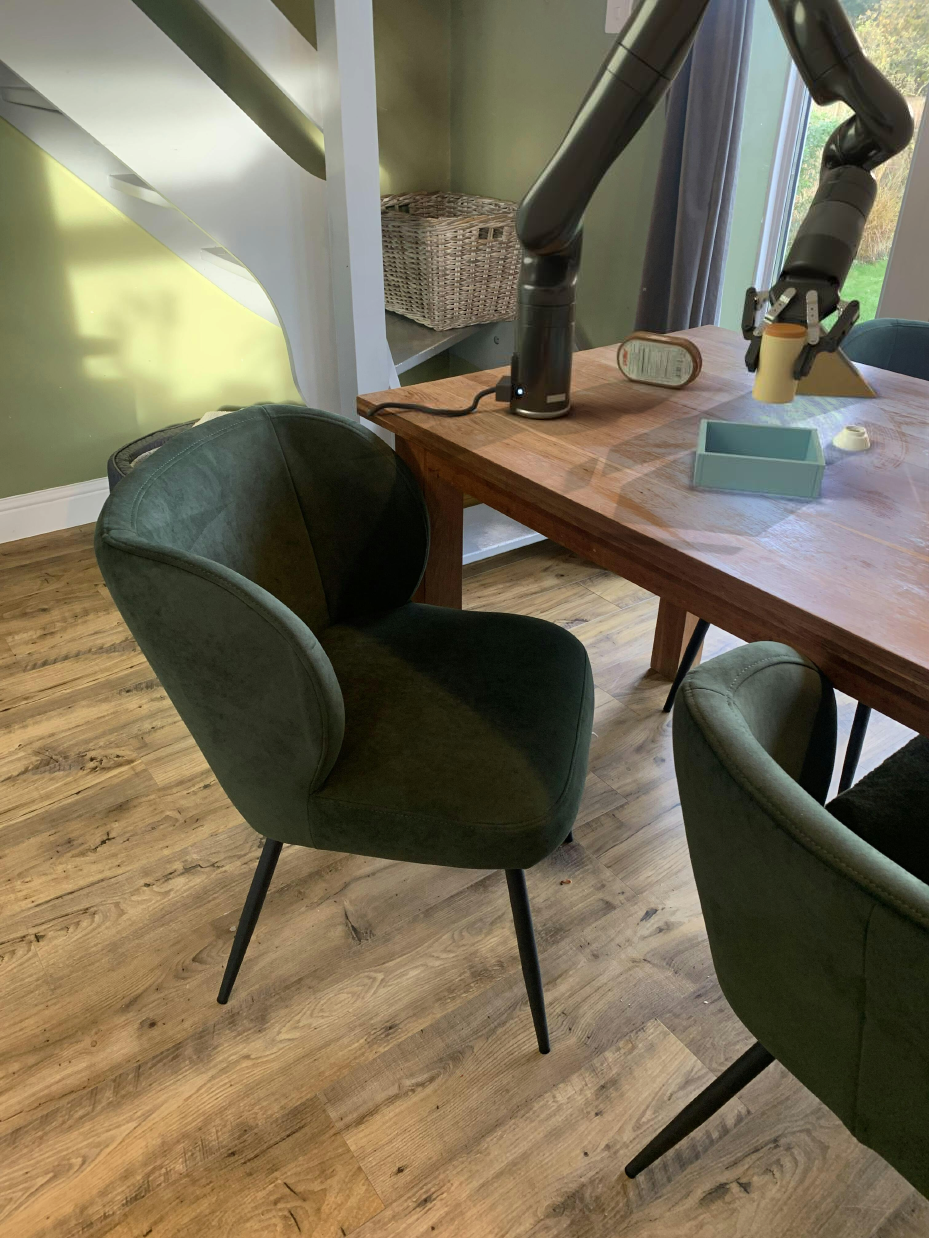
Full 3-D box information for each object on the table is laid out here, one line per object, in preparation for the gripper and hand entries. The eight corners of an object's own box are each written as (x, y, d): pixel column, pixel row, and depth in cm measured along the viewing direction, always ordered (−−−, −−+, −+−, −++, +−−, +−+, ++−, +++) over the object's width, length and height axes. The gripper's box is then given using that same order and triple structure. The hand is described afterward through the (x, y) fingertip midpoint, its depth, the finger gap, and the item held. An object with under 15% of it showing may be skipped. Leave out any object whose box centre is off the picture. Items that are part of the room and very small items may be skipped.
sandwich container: (878, 398, 148) (902, 306, 140) (784, 394, 149) (802, 303, 141) (866, 383, 155) (888, 294, 147) (776, 379, 157) (793, 291, 149)
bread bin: (692, 490, 115) (698, 453, 113) (696, 452, 126) (701, 418, 124) (816, 502, 112) (825, 465, 109) (809, 463, 123) (817, 428, 120)
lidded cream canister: (752, 402, 107) (765, 331, 102) (751, 390, 111) (763, 321, 106) (795, 405, 106) (809, 334, 101) (792, 393, 110) (806, 323, 105)
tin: (699, 388, 152) (706, 339, 147) (692, 393, 150) (699, 343, 145) (619, 375, 159) (623, 327, 154) (612, 379, 156) (616, 331, 152)
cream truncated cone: (825, 443, 130) (844, 455, 126) (829, 424, 128) (848, 436, 124) (855, 441, 131) (875, 453, 126) (860, 421, 129) (880, 433, 125)
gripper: (762, 226, 107) (711, 347, 105) (885, 236, 100) (833, 366, 98) (767, 265, 114) (720, 379, 112) (883, 277, 107) (835, 399, 105)
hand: (773, 372), depth 105 cm, fingers closed on lidded cream canister, 5 cm apart
